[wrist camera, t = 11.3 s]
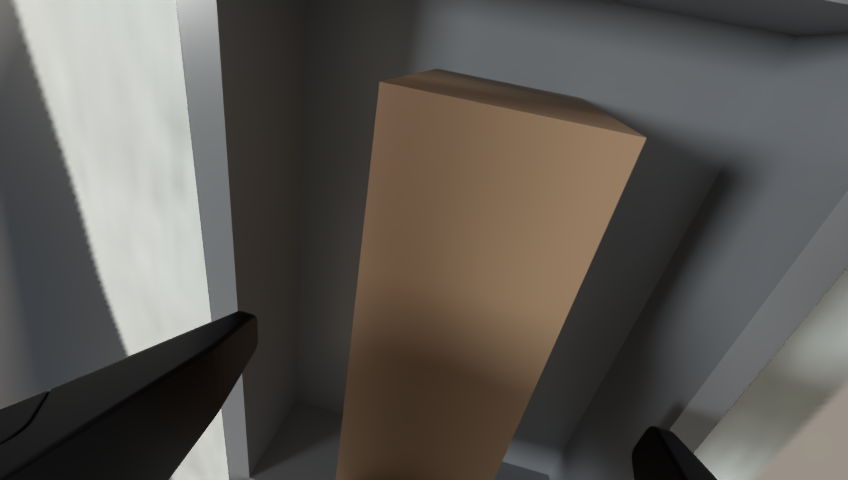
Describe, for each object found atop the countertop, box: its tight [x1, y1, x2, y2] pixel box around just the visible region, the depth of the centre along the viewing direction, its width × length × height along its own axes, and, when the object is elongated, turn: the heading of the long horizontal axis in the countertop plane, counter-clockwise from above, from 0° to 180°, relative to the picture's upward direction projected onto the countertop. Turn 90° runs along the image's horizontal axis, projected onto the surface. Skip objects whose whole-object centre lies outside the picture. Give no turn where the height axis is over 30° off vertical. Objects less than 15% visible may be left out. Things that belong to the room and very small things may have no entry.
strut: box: [336, 69, 646, 480], centre depth 10 cm, size 4×12×6 cm, turn 170°
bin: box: [176, 0, 848, 480], centre depth 11 cm, size 18×13×4 cm
